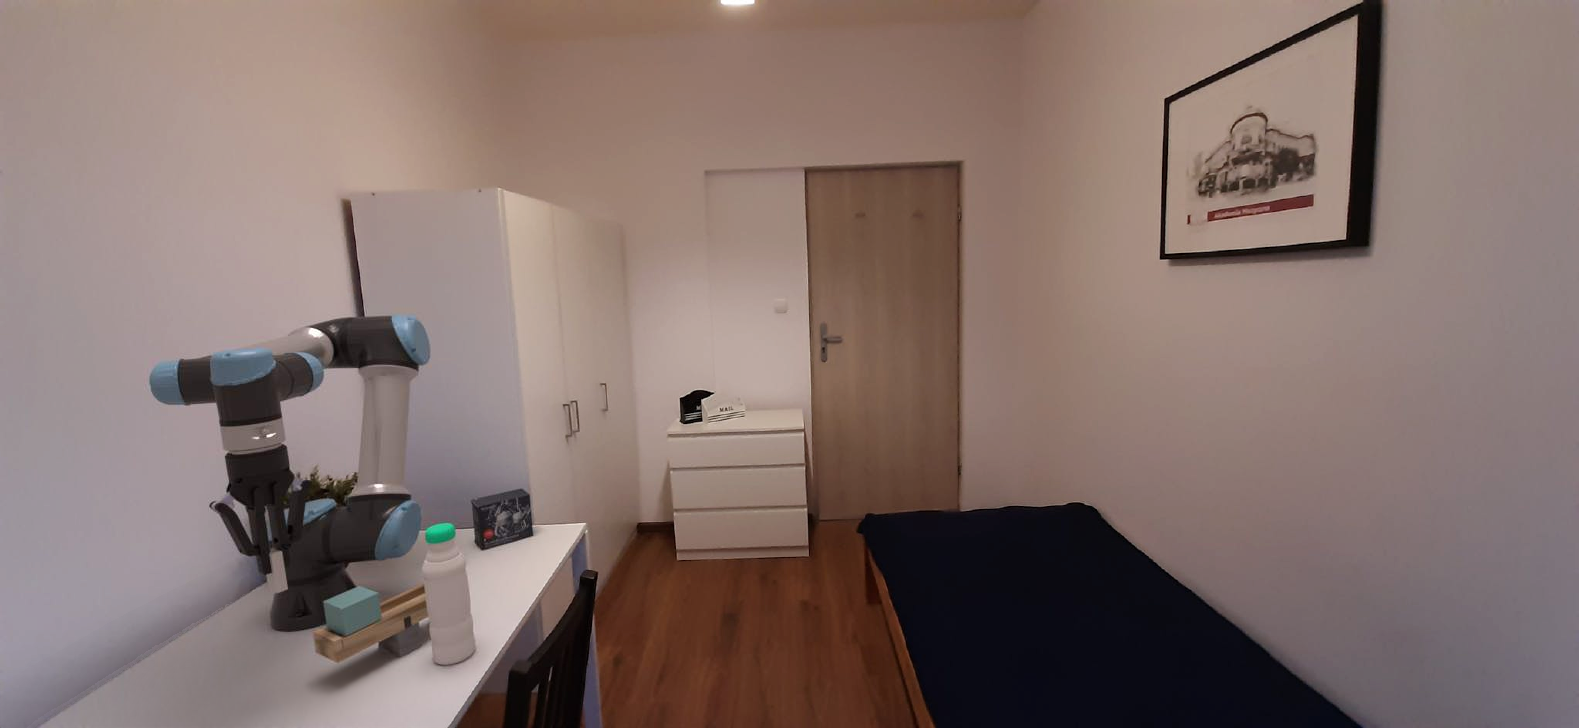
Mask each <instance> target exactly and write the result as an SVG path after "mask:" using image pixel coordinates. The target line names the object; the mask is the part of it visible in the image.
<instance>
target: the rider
mask: <svg viewBox="0 0 1579 728" xmlns="http://www.w3.org/2000/svg"><path fill="white" fill-rule="evenodd" d="M380 601H381V600H380V595H379V592H377V591H375V590H371V589H369V588H366V587H364V586H361V585H358V586H356V588H354V589H351V590H349V591H347V592H344V593H342V594H340V595H337V596H335V597H332V598H330V599H328V600H325V601H323V603H324V610H325V616H326V623H325V624H326V628H329V629H331V630H333V631H334V633H335V635H337V636H340V637H343V636H347V635H349V634H352V633H354V632H356V631H358V630H360V629H362V628H364V627H366V626H368V625H370V624H372V623H374V622H376V621H379V620H381V619H382V616H381V608H380V603H381V602H380Z"/></svg>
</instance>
